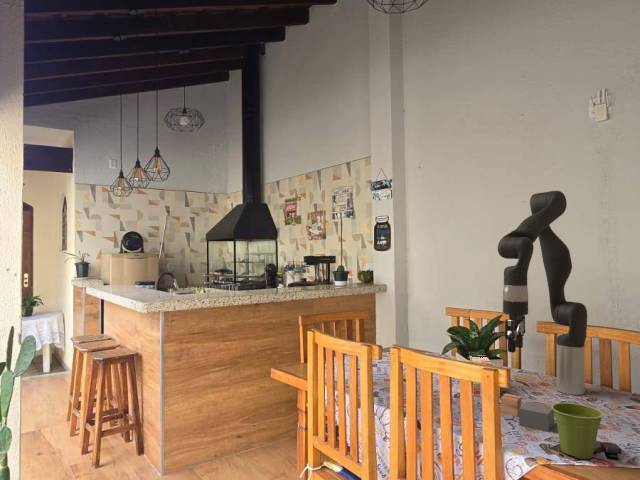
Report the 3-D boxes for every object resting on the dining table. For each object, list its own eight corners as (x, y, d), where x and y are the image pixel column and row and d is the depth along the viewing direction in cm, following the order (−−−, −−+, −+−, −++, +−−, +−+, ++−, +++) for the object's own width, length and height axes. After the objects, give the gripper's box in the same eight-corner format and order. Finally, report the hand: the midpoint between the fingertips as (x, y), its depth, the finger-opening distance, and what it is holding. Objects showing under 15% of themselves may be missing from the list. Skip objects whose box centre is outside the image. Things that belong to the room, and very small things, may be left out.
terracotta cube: (505, 408, 153) (505, 393, 153) (521, 412, 150) (521, 396, 150) (500, 413, 149) (500, 397, 149) (517, 416, 146) (517, 400, 146)
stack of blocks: (466, 380, 186) (466, 349, 186) (482, 381, 185) (483, 350, 185) (473, 397, 165) (473, 362, 165) (492, 398, 164) (492, 363, 164)
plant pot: (615, 460, 116) (614, 414, 116) (580, 467, 112) (579, 420, 112) (574, 441, 127) (574, 400, 127) (540, 447, 123) (540, 404, 123)
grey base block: (525, 417, 145) (525, 401, 145) (554, 423, 140) (554, 406, 140) (519, 425, 138) (519, 408, 139) (548, 431, 134) (548, 414, 134)
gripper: (509, 296, 157) (509, 344, 156) (496, 300, 145) (496, 352, 145) (533, 298, 152) (533, 347, 152) (522, 302, 141) (522, 355, 141)
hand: (515, 349), depth 149 cm, fingers open, 8 cm apart
